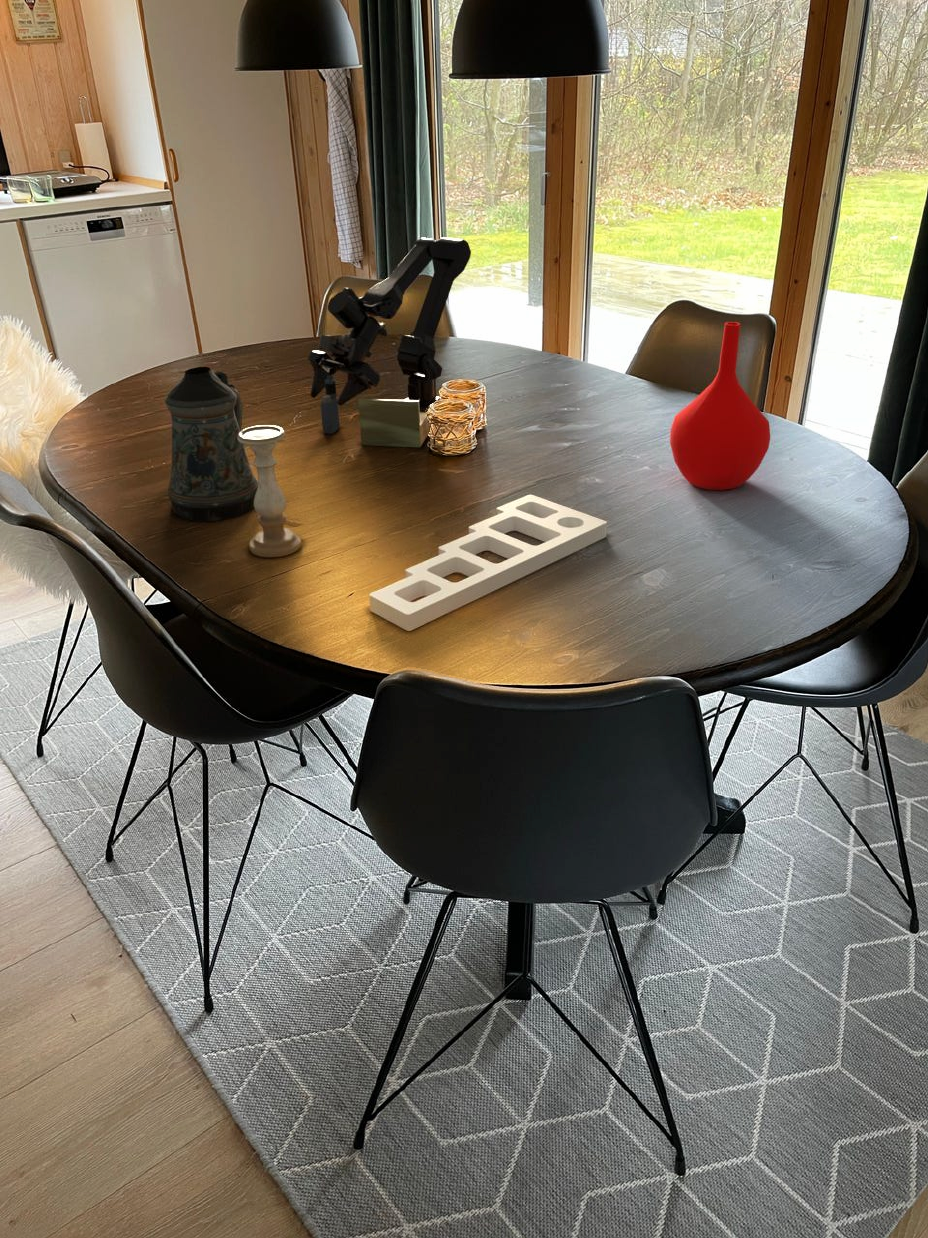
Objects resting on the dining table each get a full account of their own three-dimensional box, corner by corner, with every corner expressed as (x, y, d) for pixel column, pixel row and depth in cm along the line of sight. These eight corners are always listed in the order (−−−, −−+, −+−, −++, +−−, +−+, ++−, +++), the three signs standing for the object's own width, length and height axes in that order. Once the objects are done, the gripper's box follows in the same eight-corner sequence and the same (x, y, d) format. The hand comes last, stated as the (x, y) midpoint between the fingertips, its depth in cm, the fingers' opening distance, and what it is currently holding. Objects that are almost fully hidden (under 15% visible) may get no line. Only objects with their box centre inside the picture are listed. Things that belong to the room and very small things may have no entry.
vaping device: (341, 427, 218) (337, 374, 212) (331, 434, 214) (326, 381, 208) (331, 426, 219) (326, 374, 213) (321, 433, 214) (316, 380, 209)
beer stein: (168, 526, 172) (142, 388, 160) (174, 486, 188) (151, 359, 176) (261, 516, 175) (243, 380, 162) (259, 478, 191) (242, 352, 179)
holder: (408, 631, 138) (407, 615, 136) (332, 590, 149) (331, 575, 148) (607, 536, 164) (608, 521, 163) (530, 507, 176) (530, 494, 174)
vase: (658, 493, 181) (672, 332, 166) (674, 460, 195) (688, 309, 181) (758, 504, 175) (782, 338, 160) (767, 469, 190) (789, 315, 175)
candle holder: (277, 562, 158) (262, 444, 148) (238, 551, 162) (221, 435, 152) (312, 542, 165) (299, 428, 154) (273, 532, 169) (259, 420, 159)
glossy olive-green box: (373, 430, 216) (370, 386, 211) (429, 432, 214) (428, 387, 209) (361, 445, 207) (358, 399, 202) (420, 447, 205) (418, 401, 200)
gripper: (310, 313, 213) (275, 373, 211) (366, 325, 202) (330, 388, 200) (340, 342, 222) (307, 400, 220) (395, 355, 210) (361, 416, 209)
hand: (325, 400), depth 212 cm, fingers open, 9 cm apart
